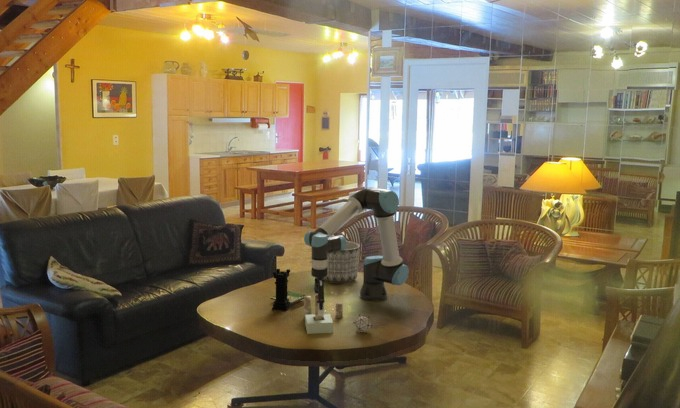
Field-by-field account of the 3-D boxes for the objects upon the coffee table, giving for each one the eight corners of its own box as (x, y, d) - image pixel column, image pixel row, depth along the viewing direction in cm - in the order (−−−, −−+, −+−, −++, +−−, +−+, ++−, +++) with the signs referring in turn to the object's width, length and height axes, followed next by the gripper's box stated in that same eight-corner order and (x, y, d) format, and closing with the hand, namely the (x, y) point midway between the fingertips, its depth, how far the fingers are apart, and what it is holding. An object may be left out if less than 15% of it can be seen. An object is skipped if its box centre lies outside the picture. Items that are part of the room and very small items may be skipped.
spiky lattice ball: (358, 339, 279) (351, 319, 283) (375, 332, 279) (368, 312, 283) (357, 336, 271) (349, 315, 274) (374, 329, 271) (367, 309, 275)
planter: (312, 284, 352) (313, 248, 349) (321, 273, 377) (321, 239, 374) (355, 287, 348) (356, 251, 344) (361, 275, 373) (362, 241, 370)
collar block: (329, 323, 288) (329, 313, 287) (333, 332, 276) (333, 322, 276) (305, 324, 286) (305, 314, 286) (307, 333, 275) (307, 323, 274)
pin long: (322, 327, 283) (322, 294, 281) (322, 329, 280) (323, 297, 277) (314, 327, 283) (314, 295, 280) (315, 330, 279) (315, 297, 277)
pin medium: (310, 316, 297) (310, 295, 296) (311, 319, 294) (311, 297, 292) (303, 316, 297) (303, 295, 295) (304, 319, 293) (304, 298, 292)
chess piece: (286, 310, 306) (286, 273, 302) (271, 309, 307) (271, 272, 304) (291, 305, 313) (291, 269, 310) (276, 304, 315) (276, 268, 312)
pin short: (341, 315, 300) (342, 302, 299) (343, 317, 296) (343, 304, 295) (335, 315, 299) (335, 302, 298) (336, 318, 296) (336, 304, 295)
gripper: (308, 261, 288) (308, 302, 292) (314, 275, 264) (313, 320, 267) (324, 260, 289) (323, 302, 293) (330, 274, 265) (330, 319, 268)
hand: (319, 311), depth 280 cm, fingers open, 13 cm apart
